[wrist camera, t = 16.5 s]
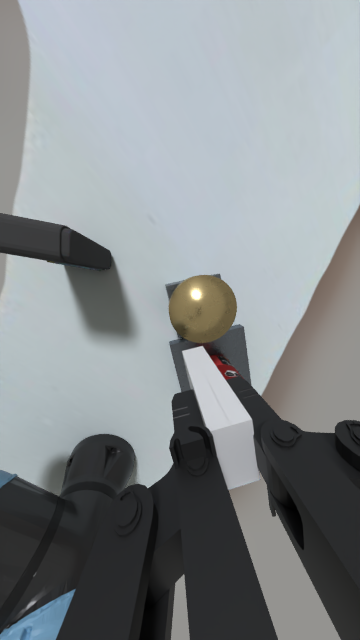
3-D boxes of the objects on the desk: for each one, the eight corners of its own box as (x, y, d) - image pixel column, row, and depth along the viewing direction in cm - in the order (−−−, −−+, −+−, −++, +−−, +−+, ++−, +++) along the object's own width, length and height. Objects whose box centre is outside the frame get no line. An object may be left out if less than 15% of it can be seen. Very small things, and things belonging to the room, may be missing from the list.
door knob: (173, 329, 32) (177, 349, 23) (162, 282, 30) (161, 283, 20) (217, 318, 33) (240, 334, 23) (209, 271, 30) (231, 267, 21)
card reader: (59, 264, 31) (-33, 249, 16) (60, 240, 30) (-39, 203, 15) (111, 272, 32) (68, 266, 17) (112, 250, 31) (68, 224, 16)
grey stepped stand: (184, 401, 40) (191, 440, 30) (155, 286, 33) (152, 289, 24) (247, 385, 41) (274, 417, 31) (232, 269, 34) (259, 264, 24)
